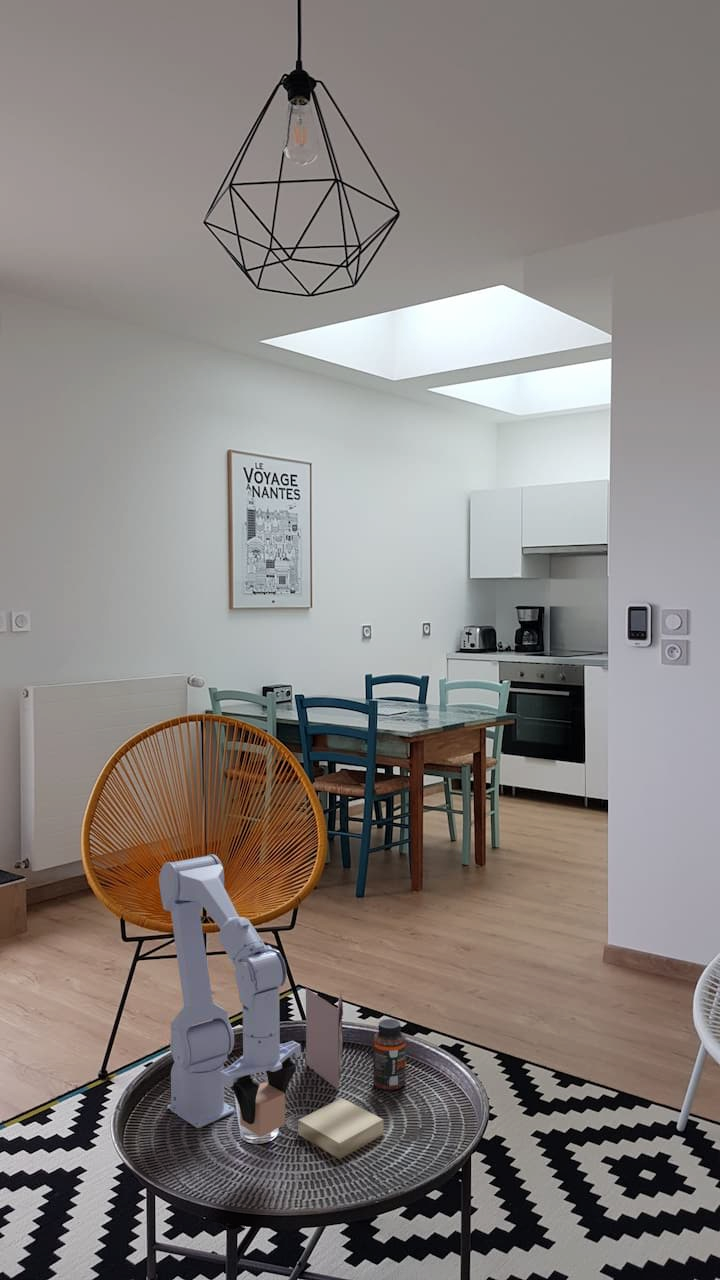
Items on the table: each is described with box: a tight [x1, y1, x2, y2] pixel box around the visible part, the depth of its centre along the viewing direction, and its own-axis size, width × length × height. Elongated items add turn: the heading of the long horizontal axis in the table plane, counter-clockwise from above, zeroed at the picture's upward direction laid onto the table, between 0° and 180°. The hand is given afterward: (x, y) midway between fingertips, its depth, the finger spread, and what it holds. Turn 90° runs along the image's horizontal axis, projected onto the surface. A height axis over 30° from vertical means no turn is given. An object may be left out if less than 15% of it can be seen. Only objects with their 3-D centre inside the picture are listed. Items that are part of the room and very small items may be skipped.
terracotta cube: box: [239, 1081, 286, 1137], centre depth 157 cm, size 5×5×5 cm
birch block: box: [297, 1097, 384, 1160], centre depth 166 cm, size 10×10×3 cm
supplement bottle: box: [372, 1018, 407, 1091], centre depth 183 cm, size 6×6×11 cm
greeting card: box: [305, 984, 344, 1091], centre depth 186 cm, size 11×7×15 cm, turn 178°
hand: (262, 1114), depth 157 cm, fingers closed on terracotta cube, 5 cm apart
